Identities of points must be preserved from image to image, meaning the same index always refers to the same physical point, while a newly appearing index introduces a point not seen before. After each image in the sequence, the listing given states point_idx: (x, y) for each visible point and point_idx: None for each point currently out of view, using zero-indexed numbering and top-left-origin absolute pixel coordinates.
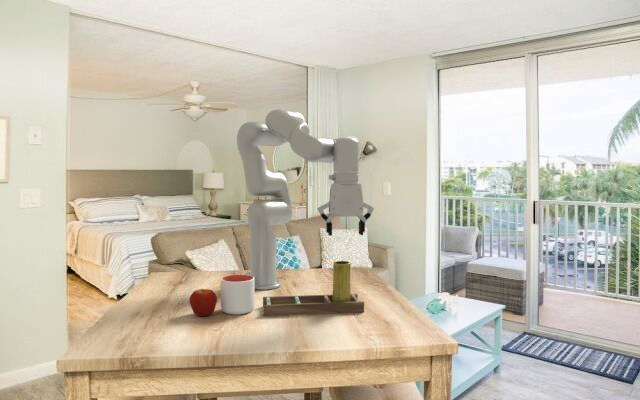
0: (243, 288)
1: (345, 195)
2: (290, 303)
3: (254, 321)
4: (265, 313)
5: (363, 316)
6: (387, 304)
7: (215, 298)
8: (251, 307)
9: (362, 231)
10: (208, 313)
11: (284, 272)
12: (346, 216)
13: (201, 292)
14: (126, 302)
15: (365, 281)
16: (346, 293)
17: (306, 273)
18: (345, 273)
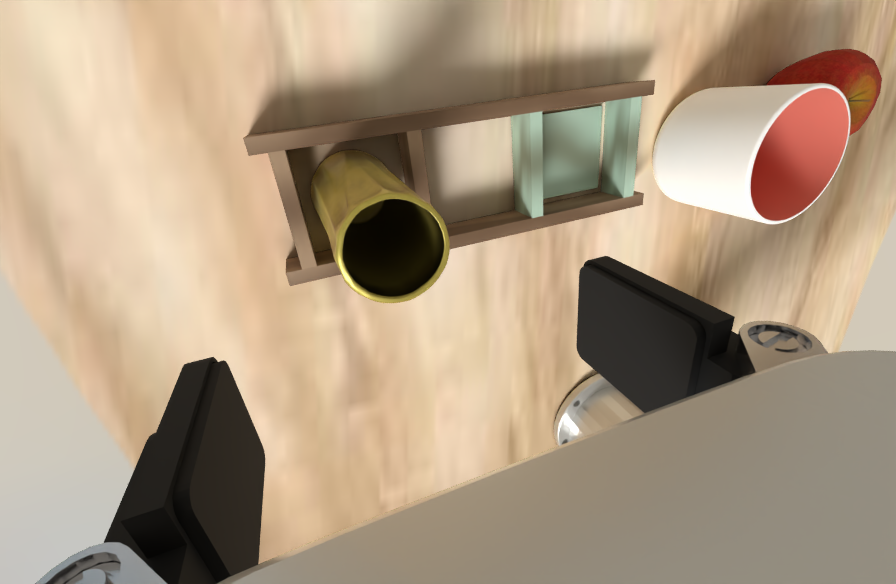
0: (769, 93)
1: None
2: (544, 206)
3: (660, 14)
4: (628, 82)
5: (246, 61)
6: (135, 263)
7: None
8: (672, 120)
9: (186, 386)
10: (778, 72)
11: None
12: (571, 442)
13: (855, 102)
14: (888, 213)
15: (268, 549)
16: (340, 170)
17: None
18: (360, 187)
